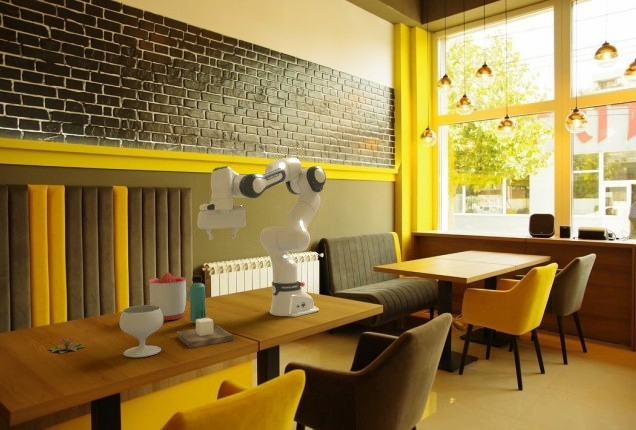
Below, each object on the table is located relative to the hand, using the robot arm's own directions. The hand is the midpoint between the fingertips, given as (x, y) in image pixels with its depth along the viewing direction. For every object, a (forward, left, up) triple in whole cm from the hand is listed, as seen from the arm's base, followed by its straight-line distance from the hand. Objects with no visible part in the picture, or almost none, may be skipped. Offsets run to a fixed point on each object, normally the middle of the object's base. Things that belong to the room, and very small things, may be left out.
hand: (222, 239), depth 200 cm
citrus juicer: (+17, -23, -35) cm, 45 cm away
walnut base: (+14, +17, -35) cm, 41 cm away
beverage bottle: (+9, -6, -35) cm, 37 cm away
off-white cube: (+14, +17, -33) cm, 40 cm away
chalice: (+37, +21, -35) cm, 55 cm away
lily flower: (+58, +2, -36) cm, 68 cm away
